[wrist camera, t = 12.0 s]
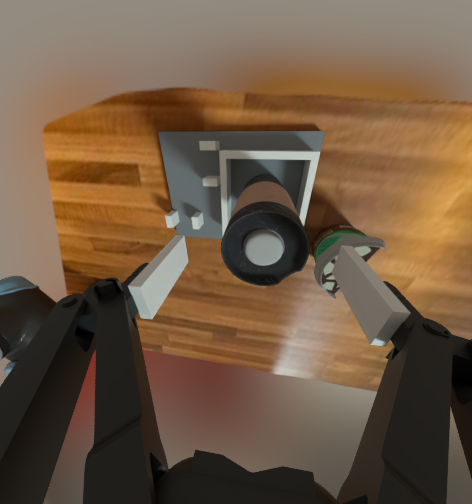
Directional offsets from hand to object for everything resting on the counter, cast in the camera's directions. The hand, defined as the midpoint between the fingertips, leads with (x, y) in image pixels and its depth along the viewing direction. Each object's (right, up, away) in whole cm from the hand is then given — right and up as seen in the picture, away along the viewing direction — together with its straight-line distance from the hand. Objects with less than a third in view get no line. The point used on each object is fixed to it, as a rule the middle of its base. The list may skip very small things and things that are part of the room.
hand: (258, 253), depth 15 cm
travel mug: (+3, +10, +17) cm, 20 cm away
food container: (+16, +3, +21) cm, 27 cm away
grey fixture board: (-2, +12, +19) cm, 22 cm away
